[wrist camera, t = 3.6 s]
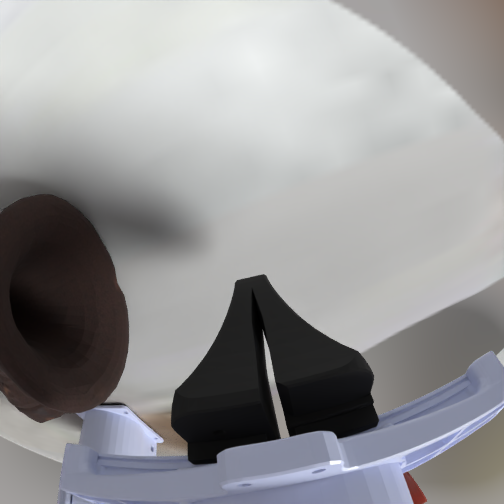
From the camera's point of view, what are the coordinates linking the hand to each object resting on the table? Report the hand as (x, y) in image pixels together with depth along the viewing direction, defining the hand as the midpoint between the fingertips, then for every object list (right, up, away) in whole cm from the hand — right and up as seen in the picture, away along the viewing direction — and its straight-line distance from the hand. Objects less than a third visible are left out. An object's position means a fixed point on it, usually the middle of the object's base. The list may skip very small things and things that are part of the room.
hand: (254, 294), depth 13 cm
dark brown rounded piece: (-16, -2, +4) cm, 16 cm away
